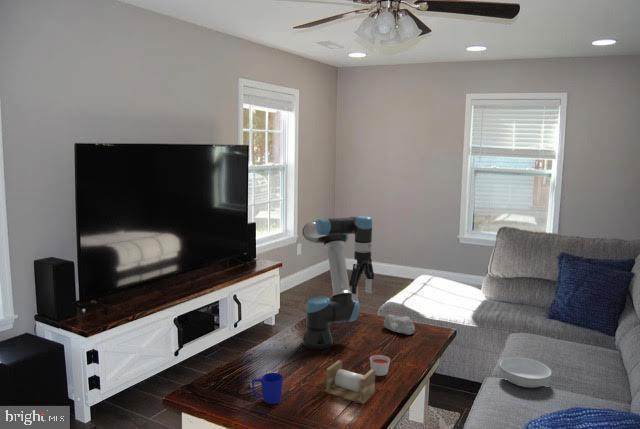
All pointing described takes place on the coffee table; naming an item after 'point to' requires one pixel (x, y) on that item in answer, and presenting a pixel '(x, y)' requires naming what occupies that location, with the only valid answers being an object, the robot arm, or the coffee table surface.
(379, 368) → the candle
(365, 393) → the oak roll cradle
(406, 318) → the decorative stone
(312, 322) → the robot arm
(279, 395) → the mug
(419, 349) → the coffee table surface
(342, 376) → the paper roll
